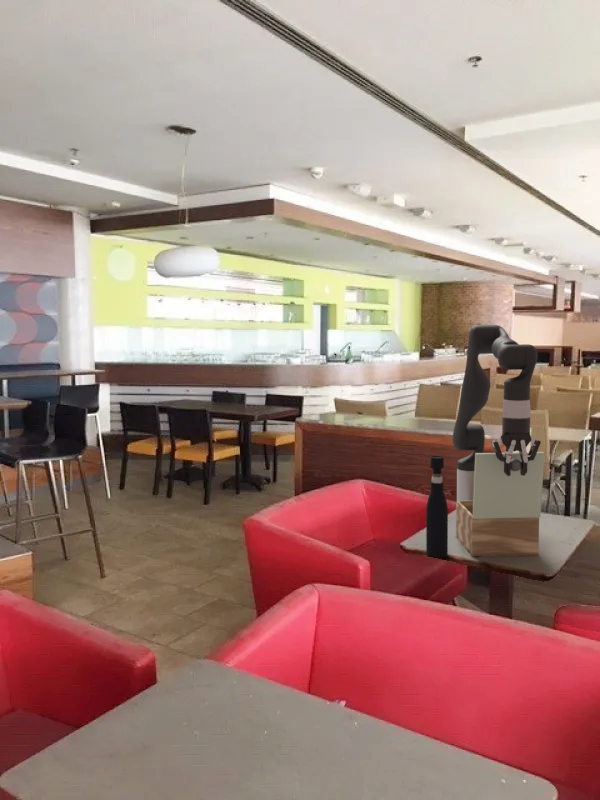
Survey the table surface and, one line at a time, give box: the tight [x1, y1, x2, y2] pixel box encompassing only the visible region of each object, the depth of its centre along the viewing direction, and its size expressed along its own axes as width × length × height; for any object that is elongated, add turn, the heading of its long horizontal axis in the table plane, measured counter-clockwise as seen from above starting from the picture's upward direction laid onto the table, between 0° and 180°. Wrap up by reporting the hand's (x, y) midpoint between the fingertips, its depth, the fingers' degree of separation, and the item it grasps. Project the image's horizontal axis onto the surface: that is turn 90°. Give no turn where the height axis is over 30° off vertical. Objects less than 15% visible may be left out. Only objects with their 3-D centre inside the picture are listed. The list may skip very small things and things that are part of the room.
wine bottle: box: [425, 455, 449, 559], centre depth 209 cm, size 6×6×30 cm
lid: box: [473, 451, 545, 519], centre depth 201 cm, size 20×20×7 cm
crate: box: [455, 500, 540, 557], centre depth 217 cm, size 20×20×12 cm
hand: (515, 474), depth 197 cm, fingers closed on lid, 3 cm apart
